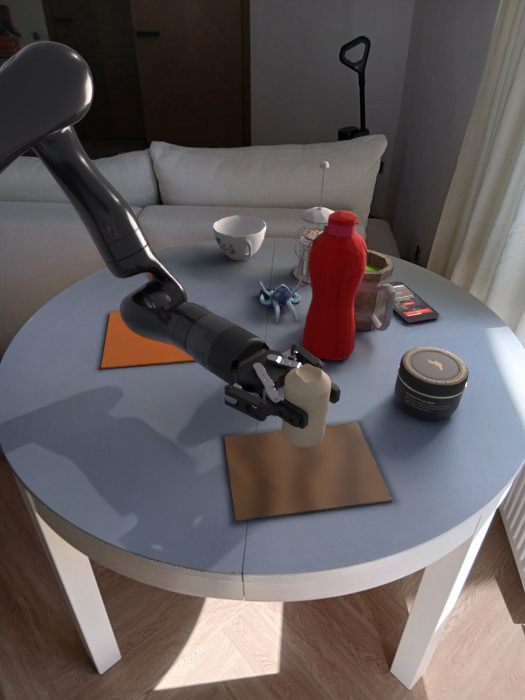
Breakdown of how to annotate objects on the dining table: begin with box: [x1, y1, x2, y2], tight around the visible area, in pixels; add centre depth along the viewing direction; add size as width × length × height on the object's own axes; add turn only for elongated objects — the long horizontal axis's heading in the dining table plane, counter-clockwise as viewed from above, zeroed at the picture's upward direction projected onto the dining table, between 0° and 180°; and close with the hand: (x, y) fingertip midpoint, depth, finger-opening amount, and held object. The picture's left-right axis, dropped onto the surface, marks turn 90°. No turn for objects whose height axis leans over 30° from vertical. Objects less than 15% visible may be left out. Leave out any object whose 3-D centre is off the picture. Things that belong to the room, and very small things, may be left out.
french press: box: [293, 160, 335, 284], centre depth 105 cm, size 10×12×25 cm
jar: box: [394, 346, 470, 423], centre depth 75 cm, size 10×10×8 cm
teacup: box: [212, 214, 267, 261], centre depth 117 cm, size 15×12×8 cm
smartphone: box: [386, 281, 440, 324], centre depth 102 cm, size 7×1×15 cm
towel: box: [100, 311, 196, 370], centre depth 92 cm, size 18×18×1 cm
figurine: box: [258, 277, 303, 324], centre depth 99 cm, size 10×12×8 cm
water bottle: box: [296, 210, 368, 361], centre depth 82 cm, size 9×11×25 cm
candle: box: [281, 364, 332, 447], centre depth 60 cm, size 6×6×10 cm
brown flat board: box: [223, 422, 393, 522], centre depth 66 cm, size 20×14×1 cm
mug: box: [354, 249, 396, 332], centre depth 93 cm, size 16×11×12 cm
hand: (322, 408), depth 59 cm, fingers closed on candle, 5 cm apart
